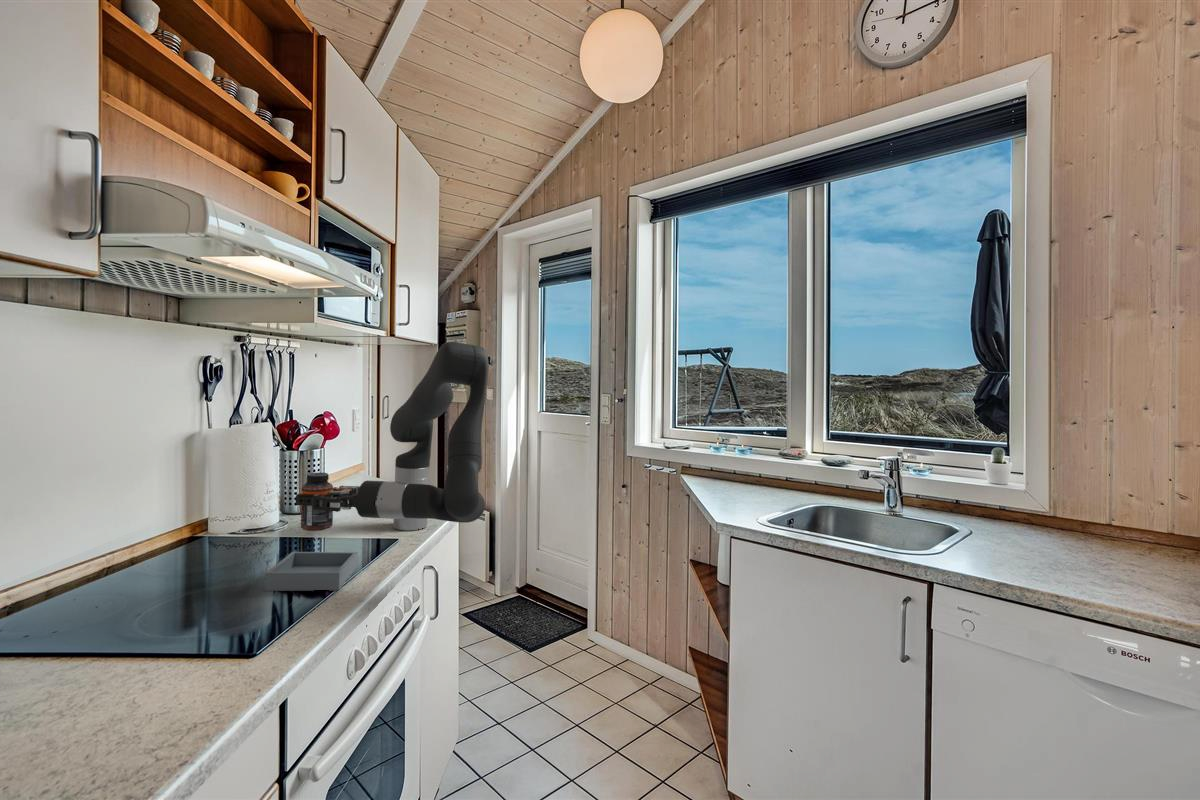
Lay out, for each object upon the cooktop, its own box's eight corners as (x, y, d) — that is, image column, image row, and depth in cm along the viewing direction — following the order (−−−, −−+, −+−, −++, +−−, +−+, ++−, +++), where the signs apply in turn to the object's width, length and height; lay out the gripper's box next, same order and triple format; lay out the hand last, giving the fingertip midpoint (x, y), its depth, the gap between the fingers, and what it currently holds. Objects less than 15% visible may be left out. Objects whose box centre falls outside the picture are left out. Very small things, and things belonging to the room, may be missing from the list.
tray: (291, 567, 125) (292, 551, 124) (357, 567, 127) (357, 552, 127) (264, 590, 111) (265, 573, 111) (338, 590, 113) (339, 572, 113)
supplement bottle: (301, 525, 120) (302, 471, 120) (332, 523, 123) (333, 471, 122) (299, 532, 115) (300, 476, 114) (332, 530, 117) (333, 475, 117)
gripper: (399, 475, 125) (323, 472, 125) (371, 488, 111) (285, 484, 111) (398, 510, 125) (322, 506, 126) (370, 526, 111) (284, 522, 111)
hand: (305, 496), depth 118 cm, fingers closed on supplement bottle, 6 cm apart
